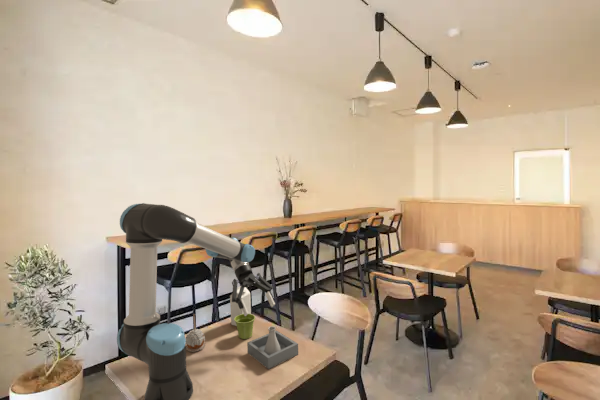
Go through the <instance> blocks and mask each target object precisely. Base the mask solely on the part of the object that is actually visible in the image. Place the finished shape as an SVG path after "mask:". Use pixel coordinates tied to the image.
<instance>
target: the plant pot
mask: <svg viewBox="0 0 600 400" xmlns="http://www.w3.org/2000/svg"><path fill="white" fill-rule="evenodd" d="M255 320H256V316H255V315H254V314H252V313H251V314H248V315H247V316H244V314H240V315H238V316H236V317H235V318H234V321H235V322H236V325H237V326H236V329H237V334H238V335H237V336H238V339H241V340H249V339H250V338H251V337H253V332H254V331H253V329H254V322H255Z"/></svg>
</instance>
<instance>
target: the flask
mask: <svg viewBox="0 0 600 400" xmlns="http://www.w3.org/2000/svg"><path fill="white" fill-rule="evenodd" d="M267 329H268V334H269V336H268V339H267V343H266V345H265V348H264V352H265V353H266V354H268V355H271V354H273V353H275V352H278V351H280V350H281V348H280V345H279V343H278V340H277V338H276V334H275V331H276V329H277V328H276V326H274V325H271V326H269V327H268V328H267Z"/></svg>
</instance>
